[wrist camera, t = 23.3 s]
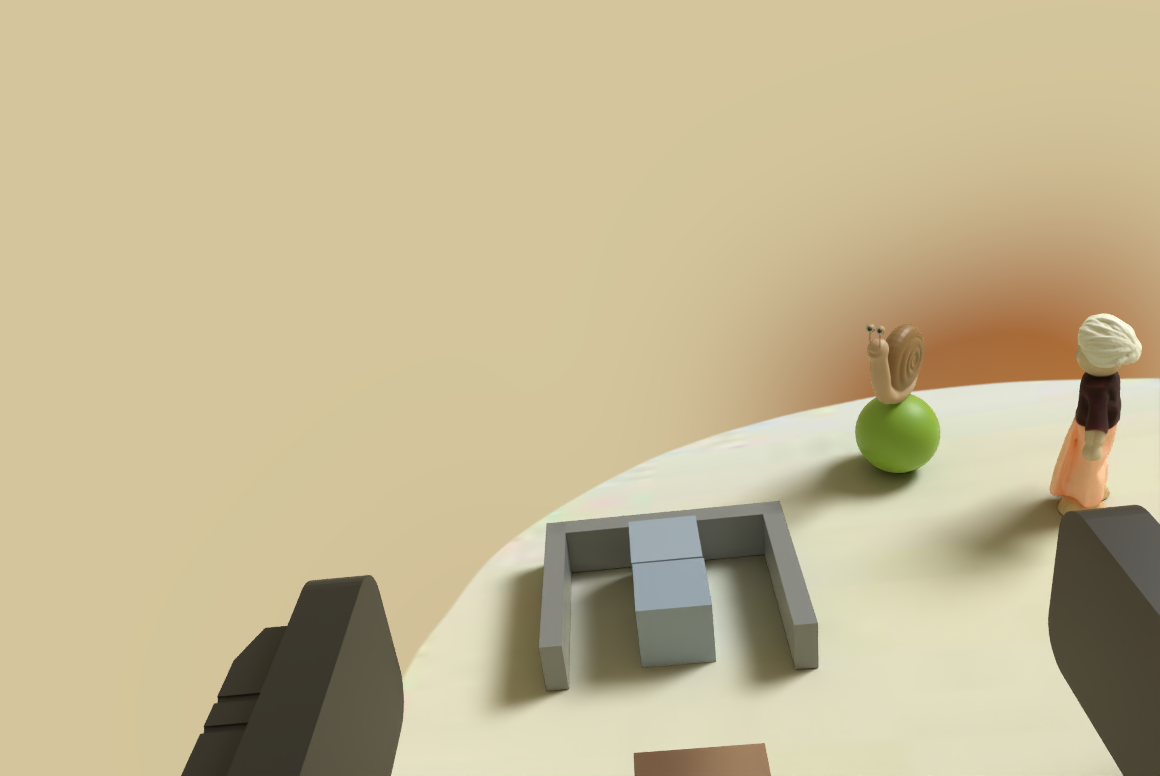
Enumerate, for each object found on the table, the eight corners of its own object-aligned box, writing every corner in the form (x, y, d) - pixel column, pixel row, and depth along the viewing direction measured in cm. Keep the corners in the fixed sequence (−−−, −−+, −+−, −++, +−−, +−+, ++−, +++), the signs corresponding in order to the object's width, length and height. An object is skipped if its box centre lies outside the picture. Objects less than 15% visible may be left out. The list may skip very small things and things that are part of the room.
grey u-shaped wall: (780, 541, 61) (779, 501, 60) (818, 667, 52) (817, 622, 50) (553, 562, 62) (546, 523, 61) (546, 690, 52) (538, 647, 51)
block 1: (699, 569, 60) (695, 515, 58) (706, 612, 57) (702, 556, 55) (634, 575, 60) (628, 521, 59) (637, 618, 57) (631, 562, 55)
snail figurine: (833, 480, 67) (832, 319, 61) (878, 439, 71) (881, 283, 65) (909, 504, 63) (916, 335, 58) (951, 459, 67) (961, 297, 62)
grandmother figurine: (1043, 469, 65) (1063, 291, 59) (1109, 474, 64) (1135, 292, 58) (1052, 538, 59) (1075, 346, 53) (1125, 545, 57) (1156, 348, 52)
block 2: (708, 613, 56) (703, 557, 55) (716, 662, 53) (711, 604, 51) (638, 619, 57) (632, 564, 55) (642, 668, 53) (635, 611, 51)
